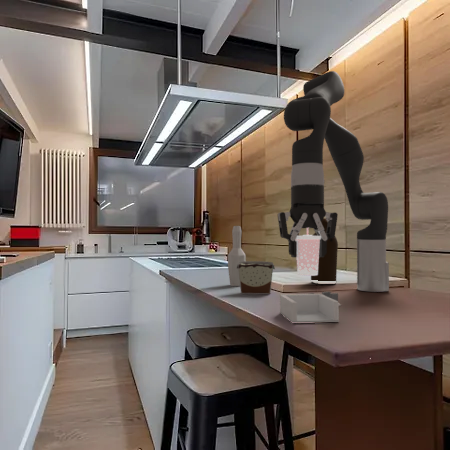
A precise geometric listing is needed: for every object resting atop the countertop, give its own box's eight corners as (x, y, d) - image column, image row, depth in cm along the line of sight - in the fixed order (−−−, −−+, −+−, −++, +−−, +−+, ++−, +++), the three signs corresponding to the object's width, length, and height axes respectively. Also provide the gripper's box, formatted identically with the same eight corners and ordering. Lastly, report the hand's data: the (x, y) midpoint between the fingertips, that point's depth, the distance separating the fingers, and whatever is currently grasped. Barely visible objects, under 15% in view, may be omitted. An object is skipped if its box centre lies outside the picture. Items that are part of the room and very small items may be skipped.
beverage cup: (326, 275, 84) (326, 213, 84) (302, 276, 82) (302, 213, 83) (312, 272, 90) (312, 214, 90) (289, 273, 88) (289, 214, 89)
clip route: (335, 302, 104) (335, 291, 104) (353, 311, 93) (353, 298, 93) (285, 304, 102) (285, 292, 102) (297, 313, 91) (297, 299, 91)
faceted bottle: (234, 283, 142) (234, 226, 142) (248, 285, 138) (248, 225, 139) (224, 285, 137) (224, 225, 137) (239, 287, 133) (239, 225, 134)
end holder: (321, 312, 92) (321, 293, 92) (338, 322, 81) (338, 301, 81) (280, 313, 91) (280, 294, 91) (292, 324, 80) (292, 302, 80)
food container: (274, 291, 125) (274, 261, 125) (275, 294, 119) (274, 262, 119) (237, 290, 126) (237, 260, 126) (236, 293, 120) (236, 262, 120)
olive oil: (342, 283, 144) (341, 218, 145) (331, 286, 136) (330, 217, 136) (316, 280, 151) (316, 219, 151) (304, 283, 142) (304, 218, 143)
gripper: (330, 187, 91) (331, 255, 91) (273, 186, 90) (273, 256, 89) (343, 183, 84) (344, 258, 83) (281, 182, 82) (281, 258, 82)
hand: (307, 256), depth 86 cm, fingers closed on beverage cup, 6 cm apart
